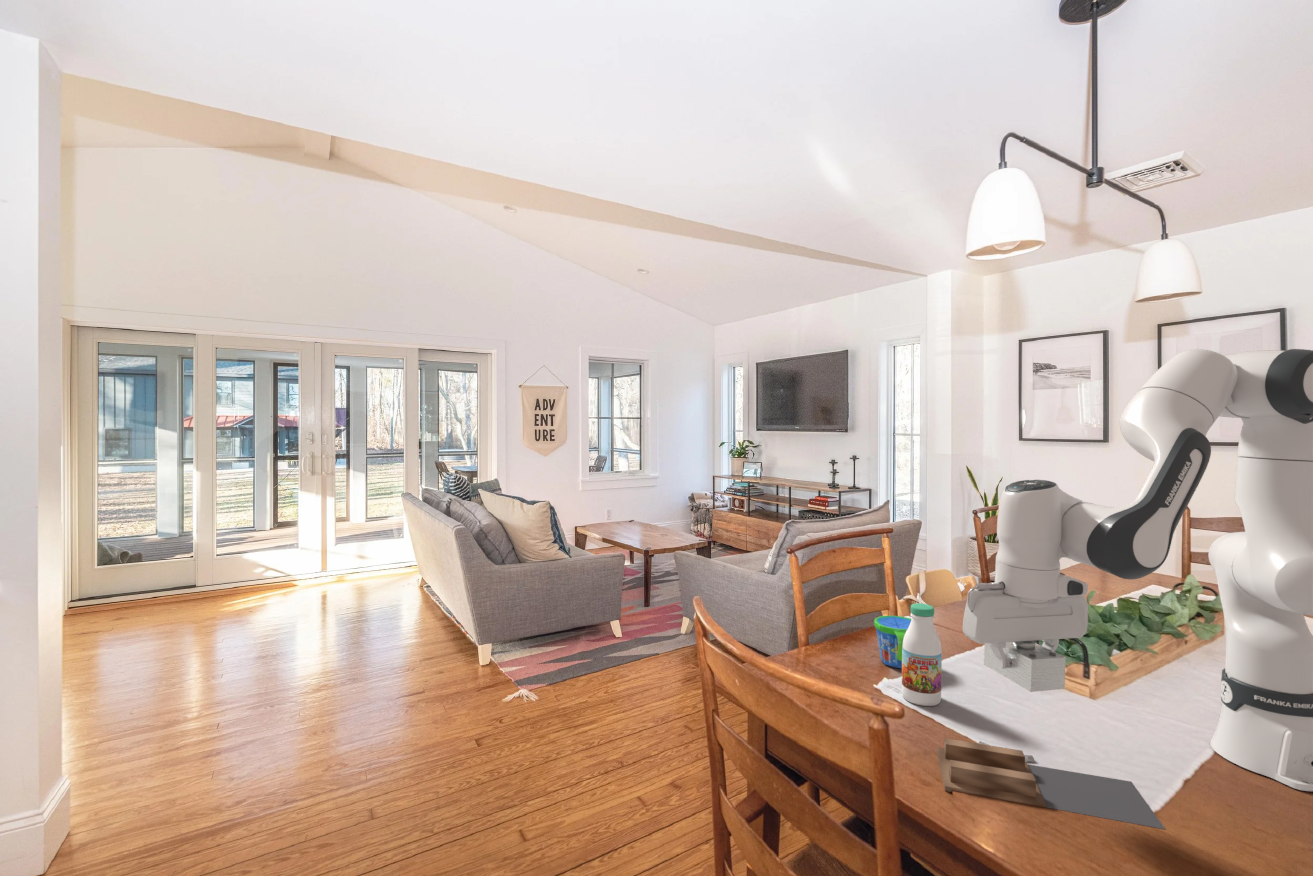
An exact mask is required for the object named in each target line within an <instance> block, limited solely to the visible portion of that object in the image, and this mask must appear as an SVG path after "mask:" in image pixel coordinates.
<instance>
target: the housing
mask: <svg viewBox="0 0 1313 876" xmlns="http://www.w3.org/2000/svg"><path fill="white" fill-rule="evenodd" d="M1003 651H1004V653H1005V655H1006V656H1008V657H1010V658H1011V663H1010V664H1011V667H1010V668H1004V669H1001V668H999V667H997V666H996V665H995V654H994V653H993V651H992V649H991V647H990V645H989V643H986V644H984V649H983V652H984V653H983V657H984V658H983V665H984V666H985V667H987V668H989V669H990V670H992V671H994V672H996V673H998V674H999V675H1001V676H1003V677H1005V678H1006V679H1008V680H1010V681H1011V682H1013V683H1015V684H1016V685H1018V686H1020V687H1021V688H1024V689H1025V690H1027V691H1028V692H1030V693H1035V692H1045V691H1055V690H1065V686H1066V685H1065V684H1066V683H1065V680H1066V661H1067V657H1066V656H1063V655H1062V654H1060V653H1058V652H1056V651H1055V652H1054V651H1052V650H1049V649H1047V648H1045V647H1043V646H1042V645H1041V644H1038V643H1037V642H1036V640H1034V641H1018V642H1006V648H1003Z"/></svg>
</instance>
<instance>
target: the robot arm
mask: <svg viewBox="0 0 1313 876" xmlns="http://www.w3.org/2000/svg"><path fill="white" fill-rule="evenodd" d="M1120 415H1121V416H1120V417H1119V420H1118V421H1119V429H1120V432H1121V435H1122V437H1123V438H1124V440H1125V442H1126V443H1127V444H1128V445H1129V446H1130V447H1131V448H1133V449H1134V450H1135V451H1136V452H1137V453H1139V454H1140V455H1141V456H1143V457H1144V458H1146V459H1148V460H1150V461H1152V462H1154V463H1153V467H1152V468H1151V470H1150V472H1149V474H1148V475H1147V478H1146V479H1145V480H1144V482H1143V485H1142V486H1141V488H1140V490H1139V492H1138V494H1137V495H1136V497H1135V499H1134V500H1133V501H1132V502H1131V503H1129V504H1127V505H1123V506H1120V507H1119V506H1118V507H1114V506H1113V507H1112V506H1107V505H1101V504H1097V503H1093V502H1088V501H1083V500H1082V499H1080V498H1077V497H1074V496H1072V495H1070V494H1068V493H1067V492H1065V491H1064V490H1063V489H1061V488H1060V487H1059V485H1058V484H1057V483H1056V482H1054V481H1050V480H1044V479H1024V480H1018V481H1015V482H1012V483H1010V484H1008V485H1006V486H1005V487H1004V489H1003V490H1002V492H1001V495H1000V498H999V503H998V509H997V519H996V521H997V523H996V535H997V537H996V538H997V539H998V540H997V541H998V550H997V552H996V554H995V566H994V567H995V569H994V575H995V576H994V582H988V583H987V582H978V583H976V584H975V585H974V586H972V587H971V588H970V590H968V592H967V595H966V596H967V597H966V603H965V608H964V612H963V619H962V632H963V634H964V635H965V637H966V638H968V639H969V640H971V641H972V642H975V643H976V644H980V645H983V644H984V645H985V644H986V643H989V645H990V647H991V649H992V651H993V653H994V654H995V665H996V666H997V667H999V668H1001V669H1004V668H1010V667H1011V664H1010V663H1011V658H1010V657H1008V656H1006V655H1005V653H1004V651H1003V648H1006V642H1018V641H1042V645H1041V646H1043V647H1045V648H1047V649H1049V650H1052V651H1054V652H1056V650H1057V648H1058V647H1059V644H1060V640H1063V639H1065V640H1066V639H1081V638H1082V637H1083V636H1085V633H1086V632H1087V629H1088V623H1089V622H1088V620H1089V608H1088V606H1089V605H1088V601H1087V599H1086V598H1085V597H1084V596H1086V595H1088V592H1089V584H1088V583H1086V582H1085V581H1082V580H1079V578H1078V579H1077V578H1074V577H1072V576H1069V575H1066V574H1065V573H1063V572H1061V563H1060V560H1061V559H1062V558H1066V559H1069V560H1072V561H1074V562H1077V563H1080V564H1084V565H1088V566H1091V567H1094V568H1097V569H1098V570H1101V571H1103V572H1106V573H1108V574H1109V575H1110V574H1111V575H1113V576H1116V577H1118V578H1120V579H1122V580H1123V579H1124V580H1139V579H1142V578H1145V577H1147V576H1149V575H1152V573H1154V572H1155V571H1157V570H1158V569H1160V567H1161V566H1163V564H1164V563H1165V561H1166V560H1167V558H1168V555H1169V554H1170V553H1169V552H1170V551H1171V550H1170V549H1171V545H1172V543H1173V542H1172V541H1173V538H1174V534H1175V531H1176V529H1177V527H1178V525H1179V523H1180V522H1181V519H1182V517H1183V516H1184V514H1185V512H1186V509H1187V508H1188V505H1189V504H1190V502H1191V500H1192V498H1193V496H1194V494H1195V492H1196V490H1197V488H1198V487H1199V484H1200V483H1201V481H1202V478H1203V476H1204V474H1205V472H1206V470H1207V467H1208V465H1209V463H1210V459H1211V455H1212V445H1211V443H1210V441H1209V438H1207V434H1208V432H1209V430H1210V429H1211V428H1212V426H1213V425H1214V423H1215V422H1216V421H1217V419H1219V417H1222V418H1235V419H1236V418H1237V419H1241V420H1242V427H1241V430H1240V434H1239V439H1238V445H1237V453H1236V454H1237V456H1236V466H1235V469H1236V470H1235V479H1234V480H1235V481H1234V493H1233V498H1234V499H1233V500H1234V503H1235V505H1236V506H1237V508H1238V510H1239V513H1240V517H1241V519H1242V522H1243V523H1242V524H1243V528H1244V531H1236V532H1235V531H1234V532H1229V533H1226V534H1225V533H1224V534H1223V535H1220V536H1219V537H1217V538H1216V539H1215V540H1214V541H1213V542H1212V543H1211V545H1210V547H1209V549H1208V553H1207V554H1208V561H1209V563H1210V566H1211V568H1212V570H1213V572H1214V575H1215V578H1216V582H1217V587H1218V592H1219V598H1220V603H1221V606H1222V611H1223V616H1224V618H1223V619H1224V623H1225V663H1224V665H1225V668H1223V669H1222V670H1221V678H1220V700H1221V702H1222V703H1221V708H1220V709H1221V710H1220V715H1219V719H1218V723H1217V725H1216V728H1215V730H1214V734H1213V736H1212V737H1211V740H1210V741H1209V744H1210V747H1211V748H1212V749H1213V751H1215V752H1216V754H1219V755H1220V756H1221V757H1222V758H1224V759H1225V760H1227V761H1229V762H1231V763H1233V764H1236V765H1237V766H1239V767H1240V768H1243V769H1246V770H1248V771H1251V772H1254V773H1256V774H1260V775H1262V776H1266V777H1268V778H1271V779H1272V780H1276V781H1277V782H1279V783H1281V784H1284V785H1287V787H1290V788H1292V789H1295V790H1299V791H1305V792H1313V633H1312V632H1311V630H1310V628H1309V626H1308V624H1307V621H1306V619H1305V615H1307V616H1313V349H1312V350H1311V349H1304V348H1303V349H1302V348H1290V349H1286V350H1274V349H1273V350H1252V351H1251V350H1249V351H1242V352H1237V353H1231V354H1221V353H1219V352H1216V351H1213V350H1208V349H1203V348H1202V349H1201V348H1200V349H1199V348H1197V349H1196V348H1195V349H1193V348H1192V349H1186V350H1184V351H1181V352H1179V353H1177V354H1175V355H1174V356H1172V357H1171V358H1170V359H1169V360H1168V361H1167V362H1165V363H1163V364H1162V365H1161V367H1159V368H1158V369H1157V370H1156V371H1155V372H1154V373H1153V374H1152V375H1151V376H1150V377H1149V378H1148V379H1147V380H1146V381H1145V382H1144V383H1143V384H1142V386H1141V387H1140V388H1139V389H1138V391H1137V392H1136V393H1135V394H1134V396H1132V398H1131V399H1130V400H1129V401H1128V402H1127V404H1126V405H1125V407H1124V409H1123V410H1122V413H1121V414H1120Z"/></svg>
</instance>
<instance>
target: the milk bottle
mask: <svg viewBox="0 0 1313 876" xmlns="http://www.w3.org/2000/svg"><path fill="white" fill-rule="evenodd" d="M910 616H911V618H910V619H911V623H910V625H909V627H908V629H907V631H906V633H905V636H904V639H903V647H902V668H901V695H902V697H903V698H904V699H905V700H906V701H908V702H909V703H911V704H913V705H917V706H922V707H923V706H924V707H933V706H938V705H940V704H941V700H942V669H943V668H942V664H943V662H942V657H943V656H942V653H943V652H942V645H941V640H940V637H939V635H938V633H937V630H936V628H935V624H934V618H935V608H934V606H933V605H930V604H926V603H919V602H918V603H915V602H914V603H913V604H910Z"/></svg>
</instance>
